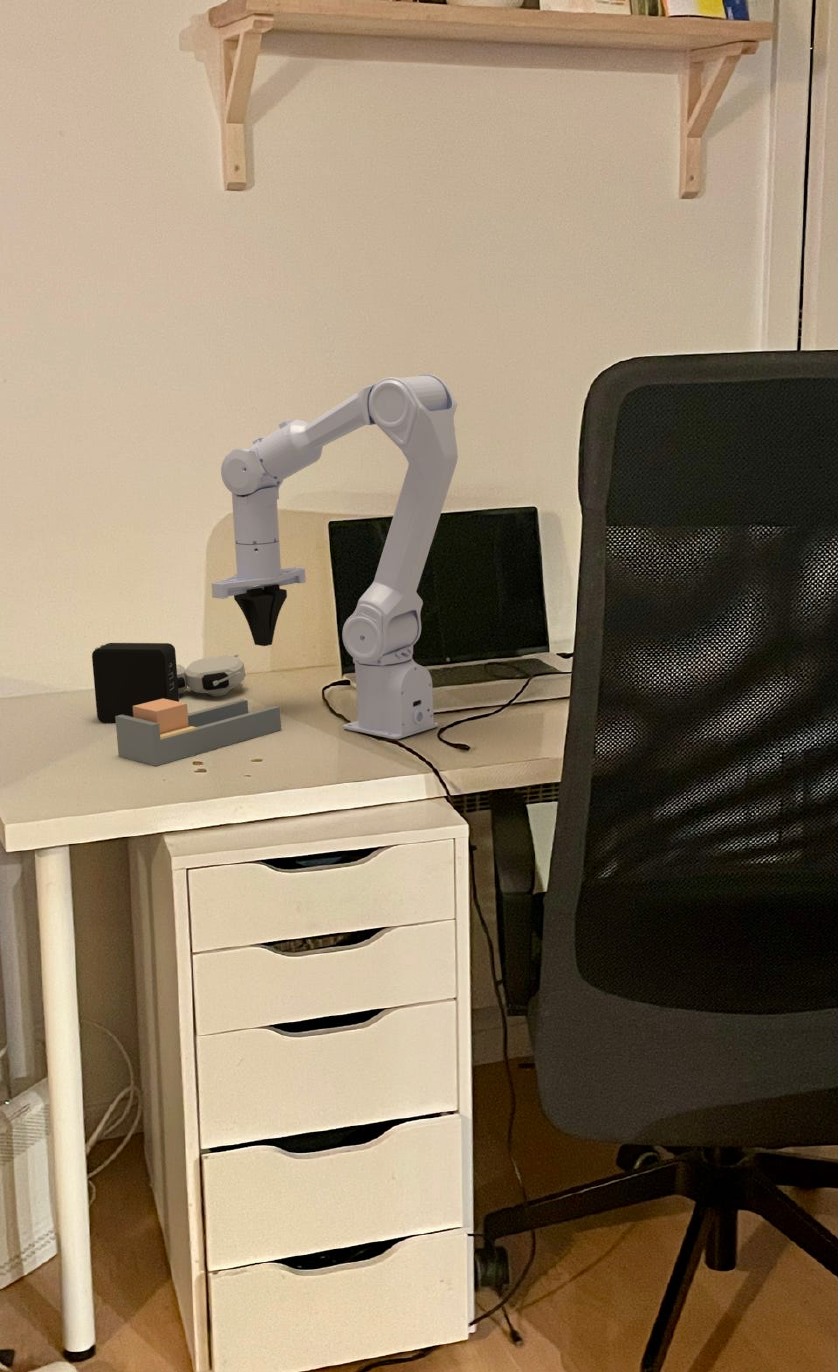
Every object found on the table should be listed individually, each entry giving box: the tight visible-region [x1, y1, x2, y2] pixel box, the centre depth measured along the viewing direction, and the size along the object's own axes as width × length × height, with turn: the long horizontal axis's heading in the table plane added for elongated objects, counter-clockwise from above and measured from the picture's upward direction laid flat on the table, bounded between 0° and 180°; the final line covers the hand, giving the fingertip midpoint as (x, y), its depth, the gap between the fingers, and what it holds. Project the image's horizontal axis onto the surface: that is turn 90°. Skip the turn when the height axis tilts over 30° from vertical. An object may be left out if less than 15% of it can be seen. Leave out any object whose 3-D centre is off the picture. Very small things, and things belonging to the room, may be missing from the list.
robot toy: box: [176, 653, 247, 698], centre depth 214 cm, size 12×4×15 cm
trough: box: [115, 699, 282, 767], centre depth 187 cm, size 20×7×5 cm, turn 138°
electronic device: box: [91, 642, 180, 725], centre depth 199 cm, size 4×10×10 cm, turn 78°
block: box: [133, 699, 189, 735], centre depth 183 cm, size 5×5×5 cm
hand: (263, 644), depth 198 cm, fingers closed
